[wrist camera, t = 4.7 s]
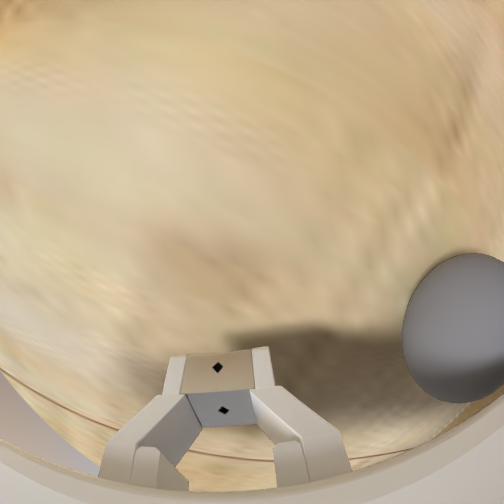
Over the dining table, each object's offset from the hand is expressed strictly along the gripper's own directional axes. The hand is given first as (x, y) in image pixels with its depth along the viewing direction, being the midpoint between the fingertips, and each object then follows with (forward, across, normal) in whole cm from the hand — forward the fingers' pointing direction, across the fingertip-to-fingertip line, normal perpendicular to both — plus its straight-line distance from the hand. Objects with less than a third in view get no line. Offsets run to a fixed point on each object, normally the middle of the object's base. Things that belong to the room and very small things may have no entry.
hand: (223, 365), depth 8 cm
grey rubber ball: (-1, +9, 0) cm, 9 cm away
